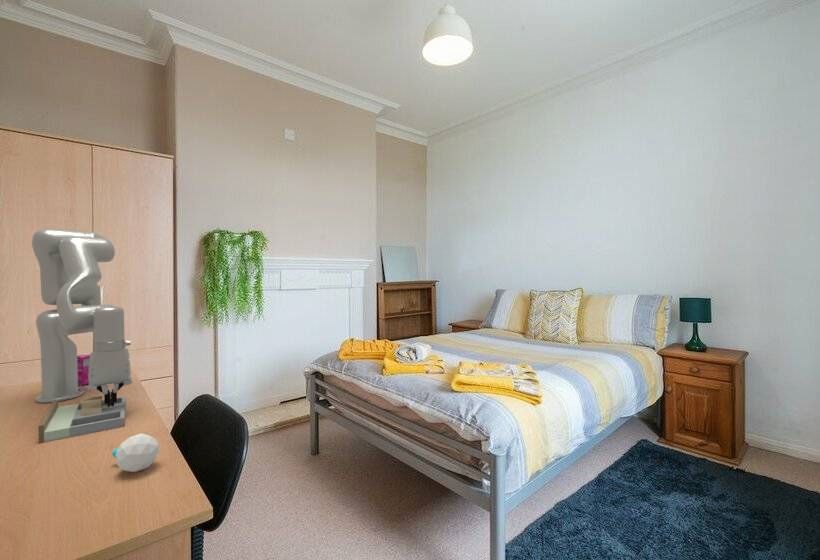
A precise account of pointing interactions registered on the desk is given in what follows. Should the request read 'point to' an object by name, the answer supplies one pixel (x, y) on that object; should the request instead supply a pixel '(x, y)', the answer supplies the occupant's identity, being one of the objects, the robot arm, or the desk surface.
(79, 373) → the supplement box
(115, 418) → the board
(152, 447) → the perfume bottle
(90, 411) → the maple block
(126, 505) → the desk surface
